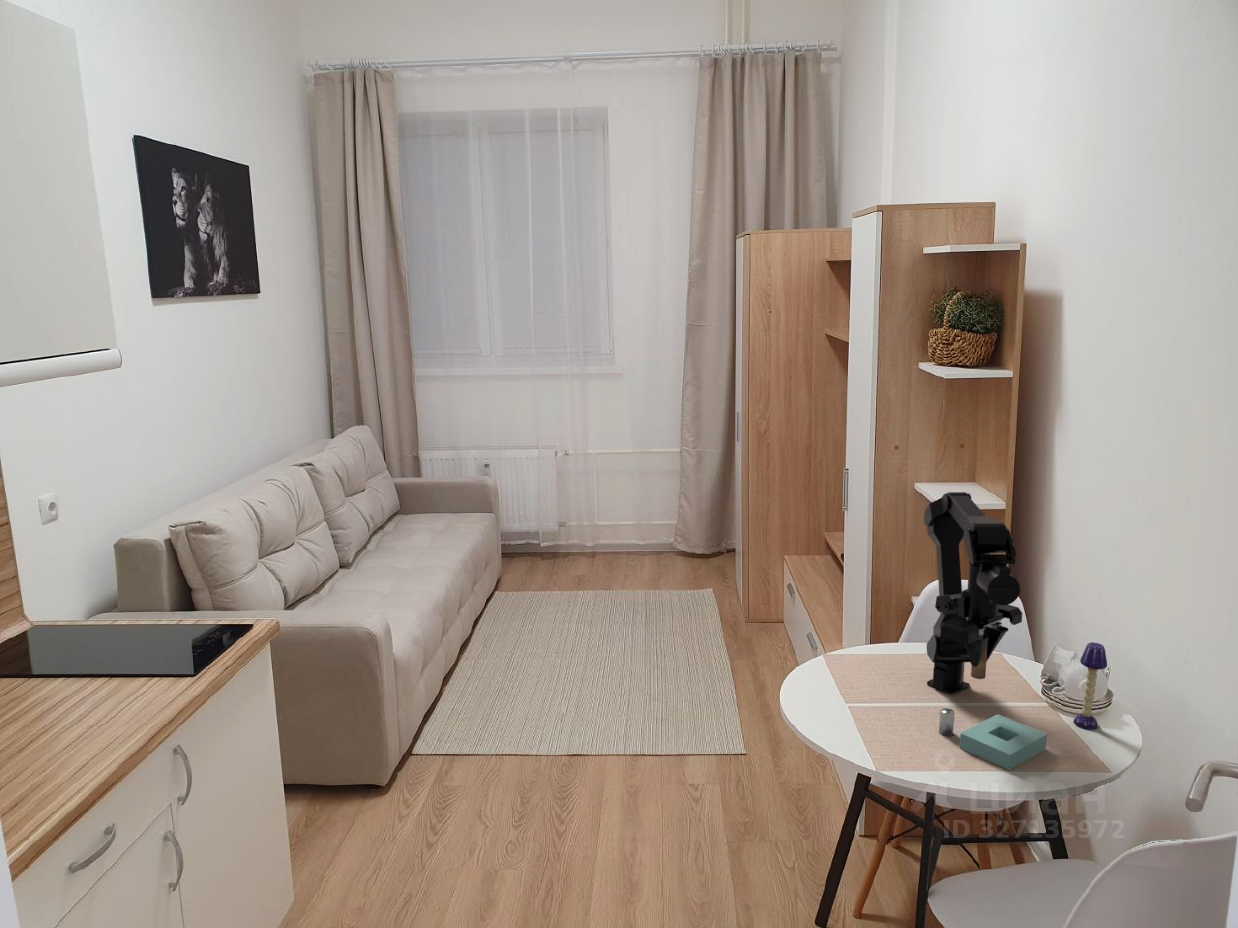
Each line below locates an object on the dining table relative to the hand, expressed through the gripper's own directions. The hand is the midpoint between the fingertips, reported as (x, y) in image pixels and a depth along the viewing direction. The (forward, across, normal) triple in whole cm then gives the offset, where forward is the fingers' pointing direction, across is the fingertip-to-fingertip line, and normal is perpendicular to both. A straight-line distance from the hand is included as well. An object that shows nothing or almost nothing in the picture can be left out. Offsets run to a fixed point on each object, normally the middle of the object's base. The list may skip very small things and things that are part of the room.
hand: (978, 663), depth 181 cm
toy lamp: (+13, -17, +13) cm, 25 cm away
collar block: (+13, +4, +8) cm, 16 cm away
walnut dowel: (+2, 0, 0) cm, 2 cm away
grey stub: (+13, +7, -2) cm, 15 cm away
